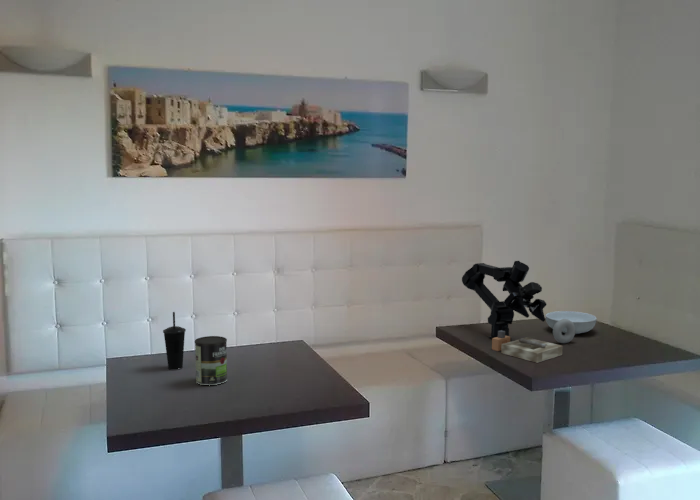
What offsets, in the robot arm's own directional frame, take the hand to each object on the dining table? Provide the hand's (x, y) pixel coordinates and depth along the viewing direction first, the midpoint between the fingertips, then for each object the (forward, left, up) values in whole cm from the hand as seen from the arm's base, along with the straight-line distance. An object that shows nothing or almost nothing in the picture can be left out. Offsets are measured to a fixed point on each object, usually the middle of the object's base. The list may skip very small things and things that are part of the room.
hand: (536, 318), depth 249 cm
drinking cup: (-69, -114, -14) cm, 134 cm away
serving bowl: (-10, +40, -14) cm, 44 cm away
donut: (-1, +21, -14) cm, 25 cm away
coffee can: (-48, -111, -14) cm, 121 cm away
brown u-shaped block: (-12, -5, -13) cm, 19 cm away
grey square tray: (0, -2, -13) cm, 14 cm away
